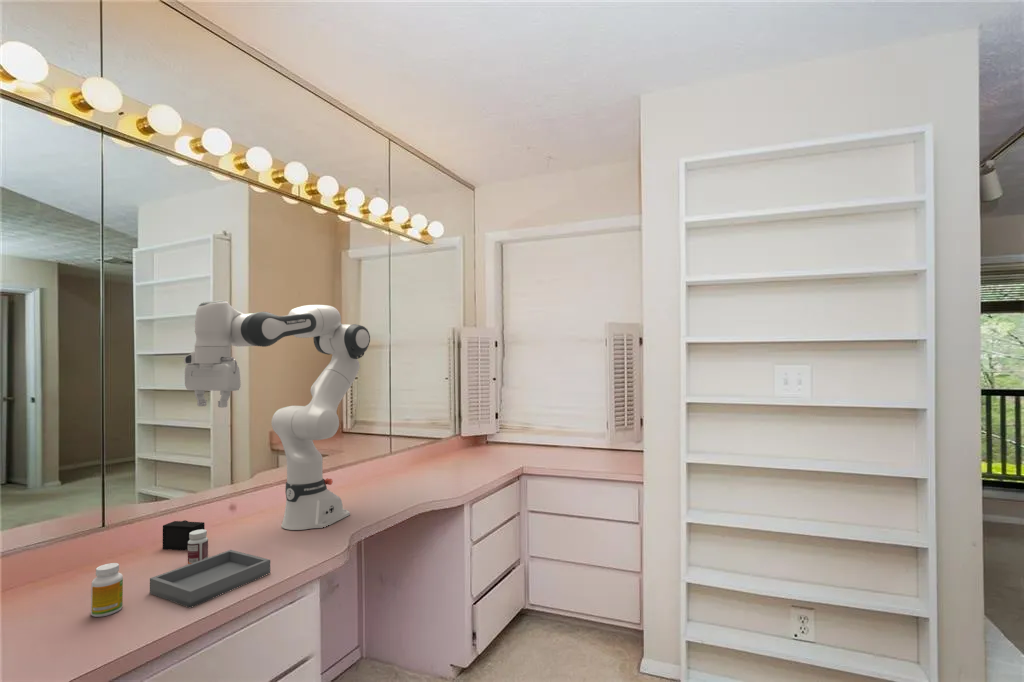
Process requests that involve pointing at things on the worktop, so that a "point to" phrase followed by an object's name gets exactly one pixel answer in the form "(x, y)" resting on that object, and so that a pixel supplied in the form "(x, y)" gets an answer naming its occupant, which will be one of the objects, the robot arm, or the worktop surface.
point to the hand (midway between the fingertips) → (212, 406)
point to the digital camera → (179, 534)
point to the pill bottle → (197, 546)
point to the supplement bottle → (107, 590)
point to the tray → (208, 577)
